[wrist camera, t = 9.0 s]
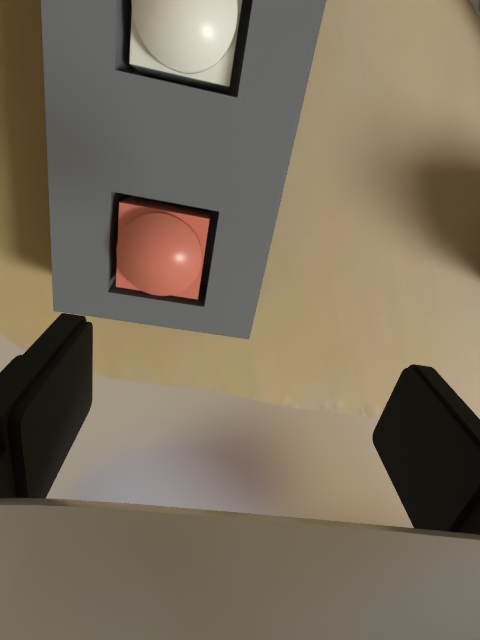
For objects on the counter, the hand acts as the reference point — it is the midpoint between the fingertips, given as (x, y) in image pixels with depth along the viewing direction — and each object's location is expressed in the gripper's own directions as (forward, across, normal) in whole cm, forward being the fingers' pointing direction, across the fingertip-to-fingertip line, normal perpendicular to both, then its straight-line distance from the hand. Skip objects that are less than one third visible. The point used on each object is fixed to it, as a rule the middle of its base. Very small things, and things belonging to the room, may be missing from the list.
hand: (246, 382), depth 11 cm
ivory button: (+17, +5, -11) cm, 21 cm away
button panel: (+18, +4, -5) cm, 19 cm away
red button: (+15, +5, +1) cm, 16 cm away
